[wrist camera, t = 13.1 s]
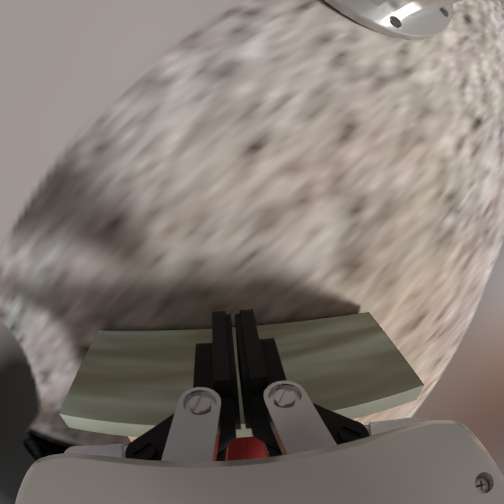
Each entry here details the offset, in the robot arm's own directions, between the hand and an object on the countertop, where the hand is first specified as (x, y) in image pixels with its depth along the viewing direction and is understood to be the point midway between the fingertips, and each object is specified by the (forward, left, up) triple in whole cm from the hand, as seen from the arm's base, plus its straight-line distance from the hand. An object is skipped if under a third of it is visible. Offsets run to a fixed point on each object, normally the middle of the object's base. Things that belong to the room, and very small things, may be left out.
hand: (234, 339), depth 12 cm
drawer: (+10, 0, -5) cm, 12 cm away
